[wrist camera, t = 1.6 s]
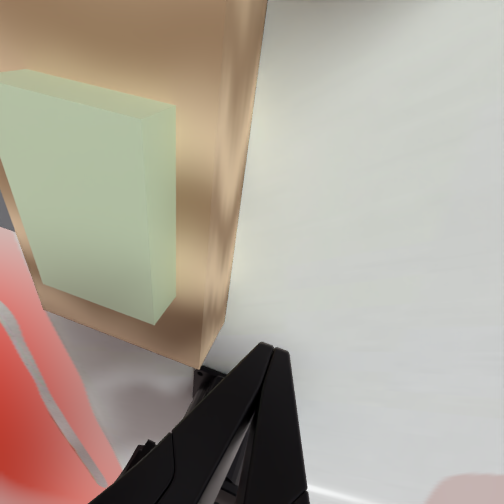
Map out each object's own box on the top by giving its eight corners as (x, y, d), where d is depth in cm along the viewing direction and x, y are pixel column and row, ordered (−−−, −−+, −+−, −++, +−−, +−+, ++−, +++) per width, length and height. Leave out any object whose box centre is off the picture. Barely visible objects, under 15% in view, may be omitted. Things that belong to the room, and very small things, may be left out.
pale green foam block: (175, 296, 16) (154, 325, 15) (73, 260, 17) (43, 283, 16) (175, 105, 11) (141, 119, 9) (26, 68, 12) (-28, 75, 10)
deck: (224, 321, 22) (199, 370, 19) (86, 272, 24) (43, 309, 21) (280, -92, 10) (236, -140, 7) (-2, -127, 12) (-133, -179, 9)
